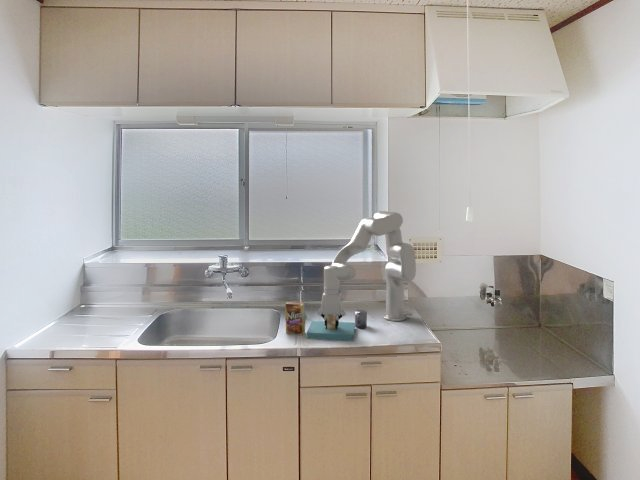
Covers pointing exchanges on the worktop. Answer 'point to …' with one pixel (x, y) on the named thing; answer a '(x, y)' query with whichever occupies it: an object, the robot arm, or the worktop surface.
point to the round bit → (360, 319)
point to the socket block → (331, 331)
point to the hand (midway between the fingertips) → (331, 326)
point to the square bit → (331, 321)
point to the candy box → (295, 318)
